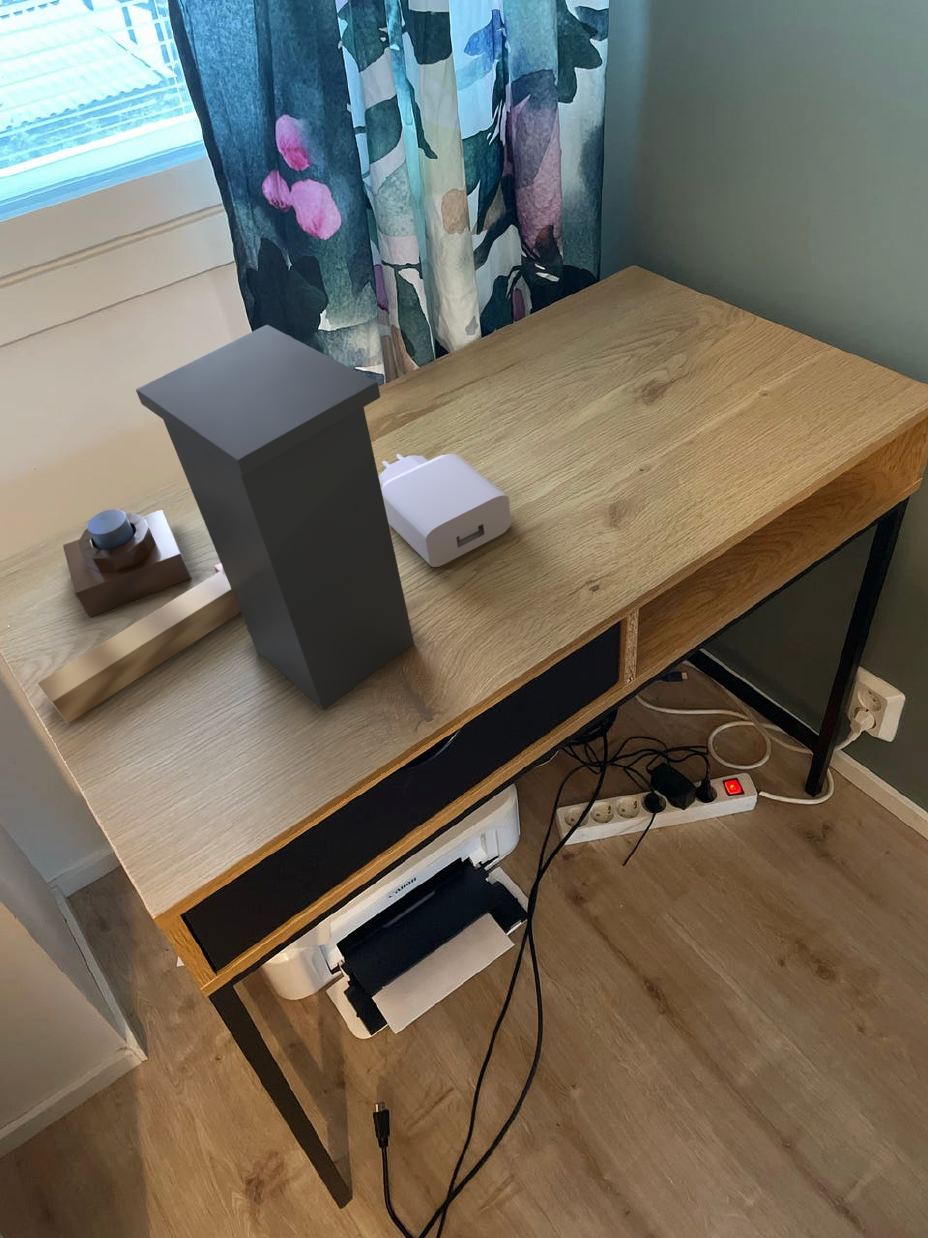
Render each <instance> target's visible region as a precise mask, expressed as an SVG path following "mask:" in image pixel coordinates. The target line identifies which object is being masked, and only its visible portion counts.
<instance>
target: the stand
mask: <svg viewBox="0 0 928 1238" xmlns="http://www.w3.org/2000/svg"><path fill="white" fill-rule="evenodd" d="M135 392H136V394H137V397H138V399H139V400H140V404H141V405H142V406H143V407H145V408H147V409H148V410H149V411H151V412H152V413H154V414H155V415H157V416H158V417H159V418H161V419H162V420H163V423H164V426H165V428H166V430H167V433H168V436H169V438H170V441H171V443H172V446H173V448H174V450H175V452H176V455H177V458H178V460H179V463H180V465H181V467H182V470H183V472H184V475H185V477H186V479H187V482H188V485H189V488H190V490H191V492H192V495H193V497H194V500H195V503H196V505H197V507H198V510H199V512H200V515H201V517H202V519H203V522H204V525H205V527H206V530H207V531H208V534H209V537H210V539H211V542H212V545H213V547H214V550H215V552H216V554H217V557H218V559H219V563H220V562H221V564H222V567H223V569H224V572H225V574H226V577H227V579H228V582H229V584H230V587H231V589H232V592H233V594H234V597H235V599H236V602H237V604H238V607H239V609H240V611H241V612H240V614H241V616H242V619H243V621H244V624H245V626H246V629H247V631H248V634H249V636H250V639H251V642H252V644H253V646H254V649H255V651H256V652H257V653H258V654H259V655H260V656H262V657H263V658H264V659H265V660H266V661H267V662H268V663H270V664H271V665H272V666H273V667H274V668H275V670H277V671H279V673H281V675H283V676H284V677H285V678H286V679H287V680H288V681H290V683H292V684H293V685H294V686H295V687H296V688H297V689H299V690H300V691H301V692H302V693H303V694H304V695H305V696H306V697H308V698H309V700H311V701H312V702H313V704H315V705H316V706H317V707H318V708H320V709H321V710H322V711H325V710H326V709H327V708H328V707H329V706H331V705H333V704H334V703H335V702H337V701H338V700H339V699H340V698H342V697H343V696H344V695H346V694H347V693H348V692H350V691H351V690H352V689H354V688H355V687H357V686H358V685H359V684H361V683H362V682H363V681H365V680H366V679H368V678H369V677H370V676H372V675H373V674H374V673H375V672H377V671H378V670H380V669H381V668H382V667H384V666H385V665H386V664H388V663H389V662H391V661H392V660H393V659H394V658H396V657H397V656H399V655H400V654H402V653H403V652H404V651H405V650H407V649H408V648H410V647H411V646H412V645H413V644H414V643H415V641H414V637H413V631H412V628H411V627H412V626H411V622H410V617H409V613H408V609H407V603H406V598H405V595H404V594H405V593H404V590H403V584H402V580H401V576H400V571H399V567H398V561H397V557H396V553H395V548H394V542H393V537H392V533H391V529H390V524H389V523H388V519H387V514H386V509H385V505H384V500H383V495H382V491H381V488H382V485H381V483H380V481H379V473H378V468H377V463H376V458H375V454H374V453H375V452H374V449H373V443H372V440H371V435H370V430H369V425H368V421H367V417H366V411H365V407H367V406H369V405H370V404H371V403H373V402H376V401H377V400H379V399H380V398H381V392H380V388H379V383H378V381H376V380H374V379H373V378H370V377H368V376H367V375H365V374H363V373H361V372H359V371H357V370H355V369H353V368H352V367H349V366H347V365H346V364H344V363H341V362H340V361H338V360H336V359H334V358H333V357H331V356H328V355H326V354H324V353H323V352H321V351H319V350H317V349H315V348H313V347H311V346H310V345H307V344H305V343H304V342H301V341H299V340H297V339H295V338H294V337H292V336H290V335H288V334H286V333H284V332H282V331H280V330H278V329H277V328H275V327H272V326H270V325H269V324H265V325H263V326H261V327H259V328H257V329H255V330H253V331H250V332H249V333H247V334H245V335H243V336H241V337H239V338H237V339H235V340H233V341H231V342H229V343H227V344H225V345H223V346H221V347H219V348H217V349H215V350H213V351H211V352H208V353H206V354H204V355H202V356H200V357H198V358H196V359H194V360H192V361H191V362H189V363H186V364H184V365H183V366H181V367H178V368H176V369H174V370H172V371H170V372H168V373H166V374H164V375H162V376H160V377H158V378H156V379H154V380H152V381H150V382H148V383H145V384H144V385H142V386H140V387H138V388H136V389H135Z"/></svg>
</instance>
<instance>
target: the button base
mask: <svg viewBox="0 0 928 1238" xmlns="http://www.w3.org/2000/svg"><path fill="white" fill-rule="evenodd" d="M124 513H125V514H126V517H127V519H128V521H129V523H130V525H131V527H132V529H133V531H134V535H133V538H132V539H131V540H129V541H128V542H127V543H126V544H124V545H123V546H120V547H117V548H115V549H112V550H101V549H99V548H98V547H97V546H96V544H95V542H94V540H93V538H92V536H91V535H90V533H89V531H88V528H86V529H84V531H82V534H81V536H80V538H79V539H76V540H73V541H70V542H68V543H64V544H63V545H62V548H63V552H64V557H65V560H66V563H67V567H68V572H69V575H70V580H71V583H72V587H73V591H74V594H75V596H76V597H77V600H78V601H79V603H80V605H81V606H82V608H83V610H84V611H85V613H86V615H87V617H88V618H91V617H93V616H96V615H99V614H102V613H105V612H107V611H109V610H112V609H115V608H117V607H119V606H120V607H121V606H122V605H125V604H128V603H130V602H133V601H135V600H138V599H141V598H144V597H146V596H149V595H151V594H153V593H156V592H159V591H162V590H164V589H167V588H169V587H172V586H174V585H177V584H180V583H183V582H185V581H187V580H190V579H192V576H191V573H190V571H189V569H188V566H187V563H186V561H185V559H184V556H183V554H182V552H181V548H180V546H179V545H178V541H177V539H176V536H175V534H174V532H173V530H172V527H171V525H170V523H169V520H168V518H167V516H166V514H165V511H164V509H158V510H157V511H152V512H151V513H148V514H145V515H143V516H142V515H139V514H137V513H135V512H124Z"/></svg>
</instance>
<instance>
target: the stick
mask: <svg viewBox="0 0 928 1238" xmlns="http://www.w3.org/2000/svg"><path fill="white" fill-rule="evenodd" d="M213 568H214V571H215V573H214V574H212V575H211V576H209V577H208V578H206V579H205V580H203V581H201V582H200V583H197V584H196V585H195V586H193V587H191V588H189V589H188V590H187V591H185V592H184V593H181V594H179V595H178V596H177V597H175V598H173V599H172V600H170V601H169V602H167V603H166V604H163V605H162V606H161V607H158V608H157V609H156V610H154V611H152V612H150V613H149V614H148V615H146V616H144V617H142V618H141V619H139V620H138V621H136V622H134V623H133V624H131V625H130V626H128V627H126V628H125V629H123V630H122V631H119V632H118V633H117V634H115V635H113V636H112V637H110V638H108V639H107V640H105V641H103V642H102V643H100V644H98V645H97V646H95V647H94V648H92V649H91V650H88V651H87V652H86V653H84V654H82V655H81V656H79V657H78V658H76V659H74V660H72V661H71V662H69V663H68V664H65V666H63V667H61V668H60V669H58V670H57V671H54V672H53V673H51V674H50V675H48V676H47V677H45V678H43V679H42V680H40V681H38V683H37V684H38V686H39V687H40V689H41V690H42V692H43V693H44V695H45V696H46V698H47V699H48V701H49V702H50V703H51V704H52V706H53V708H55V710H56V711H57V712H58V714H59V715H60V716H61V717H62V719H63V720H64V721H65V723H66V724H70V723H72V722H73V721H75V720H76V719H78V718H79V717H81V716H82V715H83V714H85V713H87V712H89V711H90V710H92V709H93V708H94V707H96V706H98V705H99V704H101V703H102V702H104V701H106V700H107V699H108V698H110V697H112V696H113V695H115V694H117V693H118V692H119V691H121V690H123V689H124V688H126V687H128V686H129V685H130V684H132V683H133V682H135V681H137V680H138V679H140V678H141V677H143V676H144V675H146V674H148V673H149V672H150V671H152V670H153V669H155V668H157V667H158V666H160V665H161V664H163V663H165V662H166V661H167V660H169V659H171V658H172V657H174V656H175V655H177V654H178V653H180V652H181V651H183V650H185V649H186V648H188V647H189V646H191V645H192V644H194V643H196V642H197V641H199V640H200V639H201V638H203V637H205V636H206V635H208V634H209V633H211V632H213V631H214V630H216V629H217V628H219V627H220V626H222V625H223V624H225V623H226V622H228V621H230V620H231V619H233V618H235V617H236V616H238V614H241V611H240V609H239V607H238V604H237V602H236V599H235V597H234V594H233V592H232V589H231V587H230V584H229V582H228V579H227V577H226V574H225V572H224V569H223V567H222V564H221V562H220V561H219V563H217V564H215V565H214V566H213Z"/></svg>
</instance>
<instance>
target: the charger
mask: <svg viewBox="0 0 928 1238" xmlns="http://www.w3.org/2000/svg"><path fill="white" fill-rule="evenodd" d="M395 457H396V459H397V460H396V461H395V462H392V463H389V462H388V461H387V460H383V461H381V465H382V466H383V467H385V469H384V470H383V471H382V472H381V473H380V474H378V477H379V481H380V485H381V491H382V495H383V500H384V505H385V509H386V514H387V519H388V524H389V526H390V527H391V528H392V529H393V530H395V532H397V534H398V535H399V536H400V537H402V538H403V540H404V541H405V542H406V543H407V544H408V545H410V547H412V549H413V550H414V551H415V552H416V553H417V554H418V555H420V557H421V558H422V559H423V560H424V561H425V562H426V563H427V564H428V565H429V566H430V567H432V568H438V567H442V566H443V565H446V564H448V563H449V562H452V561H453V560H455V559H456V558H459V557H461V556H463V555H465V554H467V553H469V552H471V551H472V550H474V549H476V548H478V547H480V546H482V545H484V544H486V543H488V542H491V541H492V540H494V539H495V538H498V537H499V536H501V535H503V534H504V533H506V532H507V531H508V529H510V527H511V525H512V519H511V508H510V498H509V496H508V495H507V494H505V492H503V491H502V490H501V489H500V488H498V487H497V486H496V485H495V484H493V482H491V481H490V480H489V479H487V478H486V477H485V476H484V475H483V474H481V472H479V471H478V470H477V469H476V468H474V467H473V466H472V465H471V464H469V463H468V462H467V461H466V460H464V458H462V457H461V456H460V455H459V454H457V453H448V454H447V453H446V454H442V455H441V454H440V455H438V456H436V457H434V458H432V459H429V460H428V459H427V458H426V457H424V456H423V455H407V456H405V457H403V456H402V454H401V453H398V454H396V456H395Z"/></svg>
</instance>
